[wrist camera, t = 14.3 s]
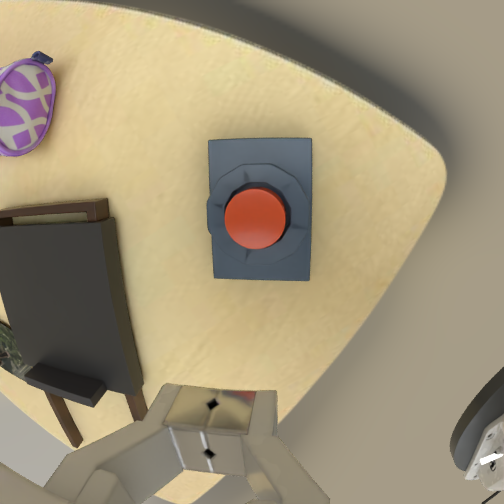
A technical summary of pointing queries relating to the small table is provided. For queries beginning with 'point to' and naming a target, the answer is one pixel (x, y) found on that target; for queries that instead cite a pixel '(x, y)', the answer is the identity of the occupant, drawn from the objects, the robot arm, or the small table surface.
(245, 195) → the button
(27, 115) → the pencil case
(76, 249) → the lid
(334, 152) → the small table surface
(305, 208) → the button block
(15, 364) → the eiffel tower figurine
